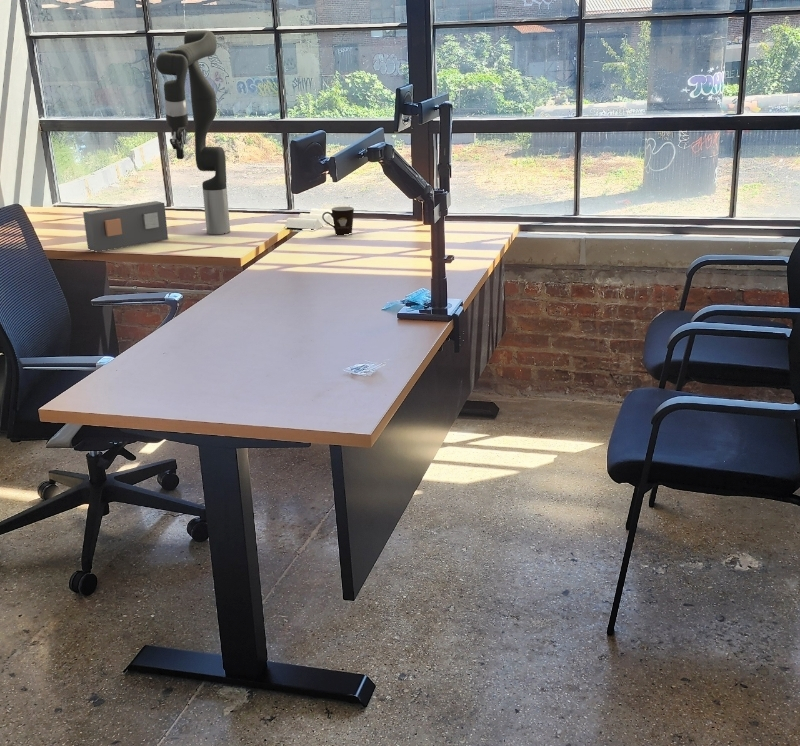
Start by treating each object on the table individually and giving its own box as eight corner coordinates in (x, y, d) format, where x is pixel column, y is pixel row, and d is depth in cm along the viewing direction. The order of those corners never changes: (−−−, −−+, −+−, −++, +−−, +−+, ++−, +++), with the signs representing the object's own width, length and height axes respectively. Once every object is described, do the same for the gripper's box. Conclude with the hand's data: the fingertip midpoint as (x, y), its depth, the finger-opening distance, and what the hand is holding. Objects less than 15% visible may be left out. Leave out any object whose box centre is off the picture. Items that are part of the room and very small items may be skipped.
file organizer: (283, 230, 369) (282, 218, 367) (323, 215, 399) (322, 203, 397) (312, 232, 364) (311, 220, 362) (350, 216, 394) (349, 204, 392)
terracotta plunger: (95, 232, 340) (93, 217, 338) (109, 230, 344) (107, 215, 342) (108, 236, 334) (106, 221, 332) (122, 234, 337) (120, 218, 335)
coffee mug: (358, 232, 360) (357, 207, 356) (348, 237, 353) (347, 211, 349) (332, 230, 364) (331, 205, 361) (321, 234, 357) (320, 209, 354)
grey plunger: (132, 225, 352) (130, 211, 350) (145, 223, 355) (143, 209, 353) (145, 229, 345) (144, 214, 343) (158, 226, 349) (157, 212, 347)
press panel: (88, 249, 339) (83, 212, 334) (160, 236, 358) (156, 201, 353) (95, 252, 335) (90, 214, 330) (168, 239, 354) (164, 202, 349)
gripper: (171, 104, 328) (175, 150, 338) (159, 117, 317) (164, 164, 327) (192, 106, 328) (195, 152, 338) (181, 119, 317) (185, 166, 327)
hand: (180, 158), depth 332 cm, fingers closed
